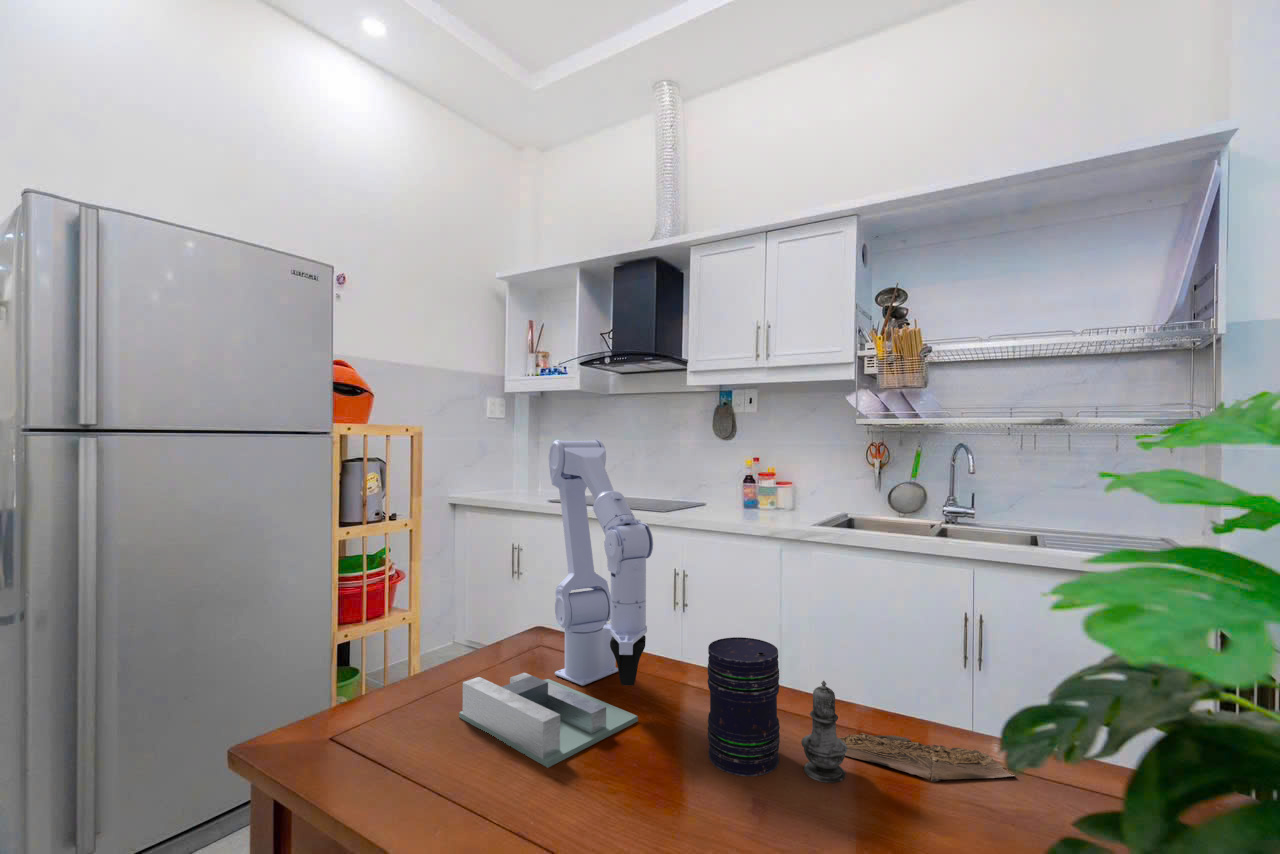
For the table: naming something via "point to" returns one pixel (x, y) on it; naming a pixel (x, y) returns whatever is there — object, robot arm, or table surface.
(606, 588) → the robot arm
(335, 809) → the table surface
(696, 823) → the table surface
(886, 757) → the wooden fragment
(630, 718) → the vise base
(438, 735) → the table surface
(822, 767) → the salt shaker
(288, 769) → the table surface
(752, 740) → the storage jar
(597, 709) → the bar
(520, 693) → the steel block
